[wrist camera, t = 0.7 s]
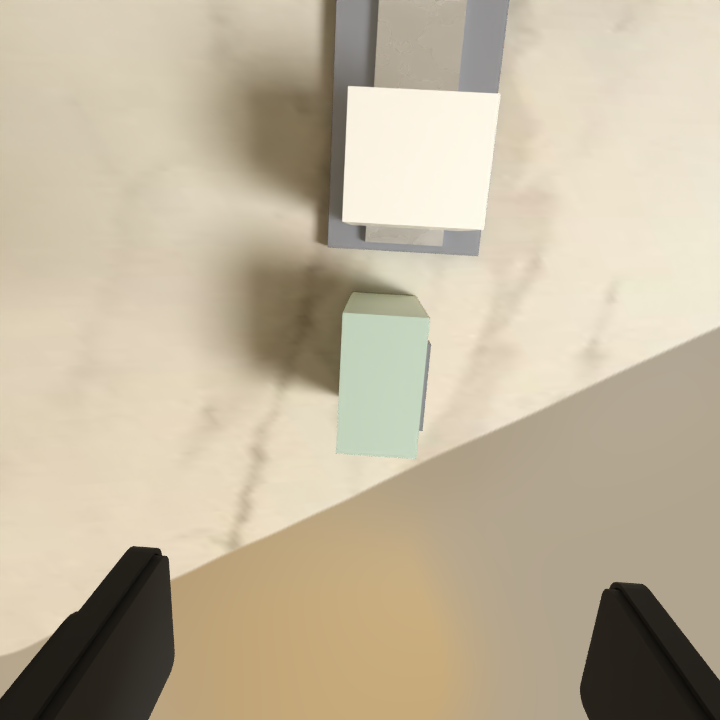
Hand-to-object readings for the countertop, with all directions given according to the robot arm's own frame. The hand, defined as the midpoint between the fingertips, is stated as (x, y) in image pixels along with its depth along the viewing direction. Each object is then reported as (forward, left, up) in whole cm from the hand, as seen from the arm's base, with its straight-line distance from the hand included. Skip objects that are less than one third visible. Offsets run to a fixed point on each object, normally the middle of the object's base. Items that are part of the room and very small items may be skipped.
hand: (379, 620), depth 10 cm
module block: (0, 0, -24) cm, 24 cm away
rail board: (-1, -20, -24) cm, 31 cm away
